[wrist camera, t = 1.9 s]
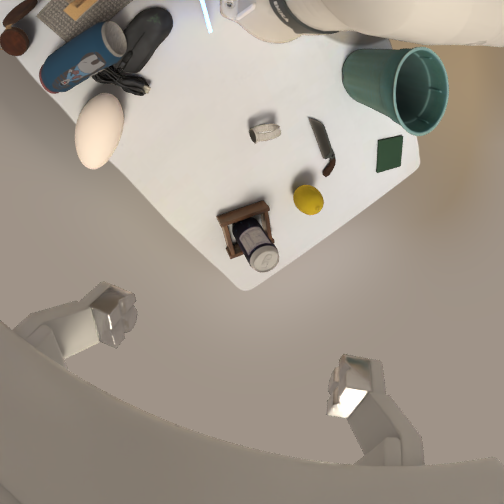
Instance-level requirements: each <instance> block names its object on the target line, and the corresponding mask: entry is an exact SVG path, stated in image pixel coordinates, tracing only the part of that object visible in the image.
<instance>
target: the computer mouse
mask: <svg viewBox="0 0 504 504" xmlns="http://www.w3.org/2000/svg"><path fill="white" fill-rule="evenodd" d="M172 26H173V20H172V17H171V14H170V13H169V12H168V11H167V10H165V9H163V8H159V7H158V8H157V7H156V8H149V9H146V10H144V11H142V12H140V13H139V14H138V15H137V16H136V17H135V18H134V19H133V20H132V22H131V23H130V24H129V25H128V27H127V28H126V29H125V30H124V32H123V33H124V35H125V38H126V43H127V49H126V52H125V54H124V55H123V56H122V58H121V59H120V60H119V61H118V62H117V63H115V64H113V67H114V69H115V72H114V71H112V70H111V69H110V68H109V67H108V68H106V69H104V70H102V71H100V72H102V73H104V74H106V75H108V76H109V77H106V76H104V75H103V74H101V73H100V72H98V73H97V74H95V75H93V76H92V78H93V79H94V80H95V81H97V82H99V83H105V84H106V83H108V84H115V85H118V86H120V87H121V88H122V89H123V90H124V91H126V92H128V93H132V94H134V95H139V96H143V95H144V94H146V93H147V94H148V92H149V91H150V89H151V87H149V85H148V84H147V82H146V80H145V79H144V78H142V77H138V76H123V75H120V71H121V70H122V69H123V70H122V71H123V72H129V73H137V72H140V71H141V69H142V68H143V67H144V66H145V65H146V63H147V62H148V61H149V59H150V58H151V56H152V55H153V53H154V52H155V50H156V49H157V47H158V46H159V45H160V44H161V43H162V42H163V41H164V40H165V38H166V37H167V36H168V35H169V33H170V32H171V29H172ZM118 67H119V70H118V69H117V68H118ZM97 78H98V79H97ZM138 78H139V79H138ZM141 79H142V80H141ZM146 84H147V85H146Z"/></svg>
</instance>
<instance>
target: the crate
mask: <svg viewBox="0 0 504 504" xmlns="http://www.w3.org/2000/svg"><path fill="white" fill-rule="evenodd" d="M268 211H270V208H269V206H268V205H267V204H266V203H265V201H264V200H263V201H260V202H257V203H254V204H251V205H248V206H245V207H242V208H239V209H236V210H233V211H230V212H228V213H225V214H222V215H219V216H217V220H218V222H219V224H220V226H221V227H222V230H223V234H224V237H225V241H226V244H227V248H226V251H227V253H228V255H229V257H230V259H232V258H235V257H238V256H240V255H243V254H244V253H243V251H242V250H241V248H240V246H239V244H236V245H232V241H231V237H230V234H229V230H228V226H227V225H230V224H232V223H235V222H238V221H241V220H244V219H247V218H249V217H252V216H255V215H258V214H260V215H261V221H262V227H263V229H264V231H265V232H266V234H267V235H268V237H269V238H270V239H271V241H272V242H273V243H275V242H274V239H273V238H272V235H271V228H270V221H269V215H268Z"/></svg>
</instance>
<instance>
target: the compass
mask: <svg viewBox="0 0 504 504" xmlns="http://www.w3.org/2000/svg"><path fill="white" fill-rule="evenodd" d="M37 2H38V1H37V0H25V1H23V2H22V3H20V4H19V5H18V6H16V7H15V8H14V9H13V10H12V11H11V12H10V13H9V14H8V15H7V16H6V17H5V19H4V21H3V25H4V27H6V29H5V30H4V32H3V33H2V34H1V37H0V44H1V47H2V48H3V49H0V50H4V51H5V52H7V53H8V54H10V55H14V56H19V55H22V54H24V53H25V52H26V50H27V49H28V47H29V39H28V36H27V34H26V33H25V32H24V31H23V30H22V29H20V28H17V27H11V25H13V24H14V23H16V22H18V21H19V20H20V19H22V18H23V17H24V16H25V15H27V14H28V13H29V12H30V11H31V10H32V9H33V8H34V7H35V6H36V4H37Z"/></svg>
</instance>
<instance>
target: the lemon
mask: <svg viewBox="0 0 504 504" xmlns="http://www.w3.org/2000/svg"><path fill="white" fill-rule="evenodd" d="M293 200H294V203H295V205H296V207H297V208H298V209H299V210H300V211H301V212H303V213H305V214H308V215H314V214H317V213H318V212H320V211H321V209H322V207H323V204H324V200H323V197H322V195H321V193H320V192H319V191H318V190H317V189H316V188H315V187H313V186H311V185H302V186H300V187H298V188H297V189H296V190H295V192H294V195H293Z"/></svg>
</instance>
